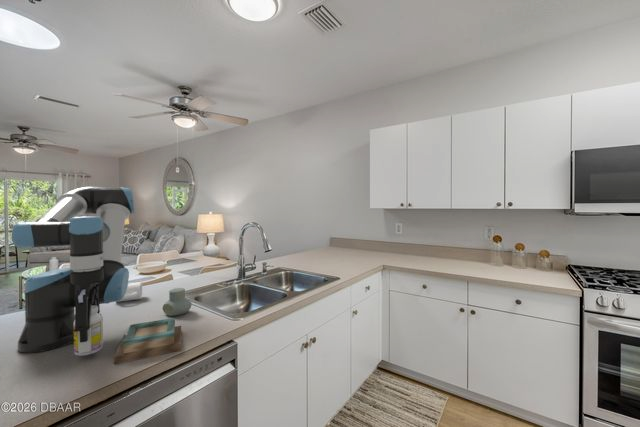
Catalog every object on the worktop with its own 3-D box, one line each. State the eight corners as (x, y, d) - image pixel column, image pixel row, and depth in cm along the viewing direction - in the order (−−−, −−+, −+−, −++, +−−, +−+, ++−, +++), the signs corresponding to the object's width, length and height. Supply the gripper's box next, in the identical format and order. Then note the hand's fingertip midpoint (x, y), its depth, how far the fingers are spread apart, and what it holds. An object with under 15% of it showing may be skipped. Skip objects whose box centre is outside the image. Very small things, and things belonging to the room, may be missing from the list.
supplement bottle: (80, 347, 84) (79, 305, 84) (106, 343, 86) (105, 302, 86) (69, 358, 78) (68, 313, 77) (98, 354, 80) (97, 310, 80)
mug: (118, 299, 134) (118, 282, 134) (142, 296, 138) (142, 280, 138) (112, 307, 123) (112, 289, 123) (138, 303, 128) (138, 286, 128)
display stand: (114, 363, 78) (114, 344, 78) (124, 341, 92) (123, 324, 92) (181, 350, 86) (181, 332, 86) (181, 331, 99) (181, 315, 99)
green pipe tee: (194, 312, 117) (194, 289, 117) (176, 319, 110) (176, 294, 110) (177, 308, 122) (177, 285, 122) (159, 314, 115) (159, 290, 115)
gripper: (94, 275, 74) (95, 359, 75) (110, 261, 92) (111, 329, 92) (57, 278, 71) (59, 366, 72) (81, 263, 88) (83, 334, 89)
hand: (88, 345), depth 82 cm, fingers closed on supplement bottle, 7 cm apart
